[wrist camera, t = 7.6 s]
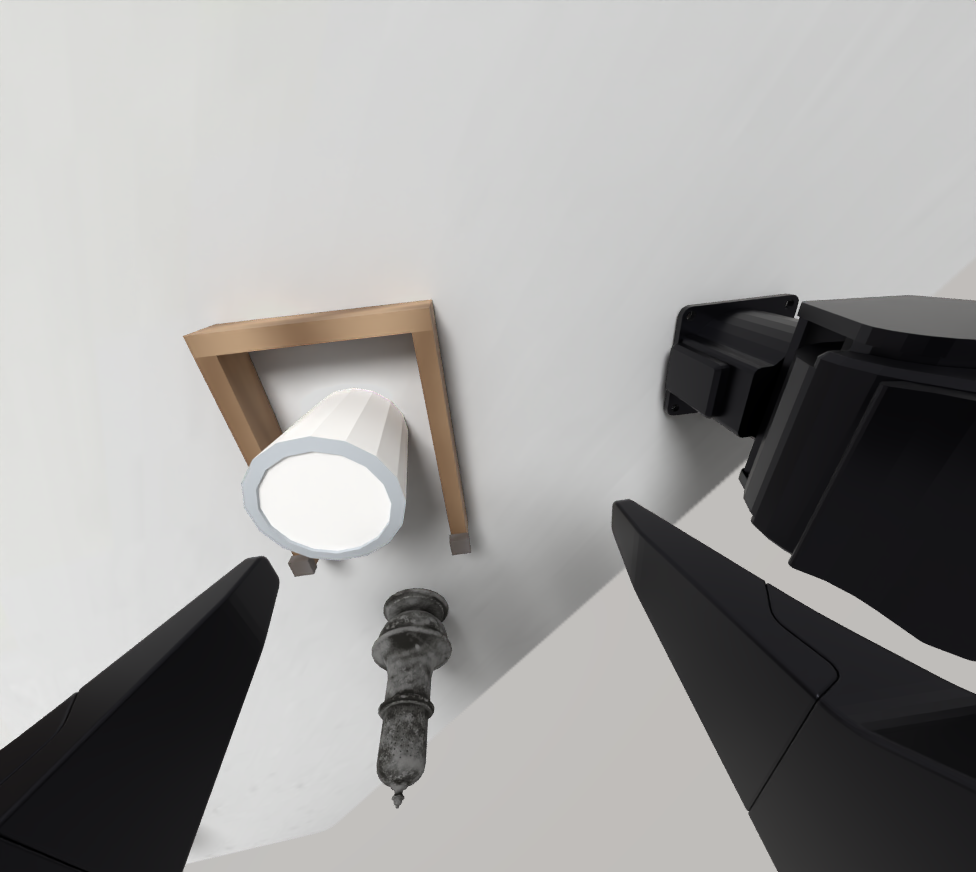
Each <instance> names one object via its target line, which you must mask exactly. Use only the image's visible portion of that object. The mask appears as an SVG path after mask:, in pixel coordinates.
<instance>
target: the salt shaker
mask: <svg viewBox="0 0 976 872" xmlns="http://www.w3.org/2000/svg"><path fill="white" fill-rule="evenodd" d="M447 614H448V605H447V602H446V601H445V599H444V598H443V597H442V596H441V595H439V594H438V593H436V592H433V591H431V590H427V589H417V588H413V589H406V590H403V591H400V592H397V593H396V594H394V595H392V596H391V597H390V598H389V599H388V600H387V601H386V603H385V605H384V616H385V618H386V619H387V621H388V622H387V623H386V625H385V627H384V628H383V630H382V631H381V633H380V635H379V638H378V639H377V640H376V641H375V643H374V645H373V647H372V657H373V659H374V661H375V662H376V663H377V664H378V665H379V666H380V667H381V668H383V669H384V670H386V671H387V673H388V681H387V688H386V695H385V701H384V702H383V703H382V704H381V705H380V707H379V709H378V714H379V716H380V717H381V718H382V719H383V724H382V731H381V738H380V745H379V752H378V759H377V774H378V777H379V779H380V780H381V781H382V782H383V783H384V784H385V785H387V786H389V787H391V789H392V790H394V791H395V794H394V796H393V797H392V800H393V801H394V805H396V808H399V805H401V803H402V800H403V799H404V796H403V794H402V792H403V790H405V789H406V788H407V787H408V786H410V785H412V784H414V783H415V782H416V781H417V780H419V778H420V777H421V775H422V774H423V772H424V768H425V764H426V747H427V727H428V719H429V718H430V717H431V716H432V715H433V713H434V706H433V704H432V703H431V701H430V690H431V677H432V673H433V671H434V670H436V669H438V668H440V667H441V666H442V665H444V664H445V663H446V662H447V661H448V659H449V657H450V656H451V651H452V648H451V644H450V642H449V640H448V638H447V634H446V631H445V629H444V626H443V624H442V623H441V622H442V621H443V620H444V619H445V618H446V616H447Z"/></svg>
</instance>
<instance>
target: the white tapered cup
mask: <svg viewBox="0 0 976 872" xmlns="http://www.w3.org/2000/svg"><path fill="white" fill-rule="evenodd" d="M407 455H408V428H407V425H406V422H405V419H404V416H403V414H402V413H401V412H400V411H399V409H398V408H397V407H396V406H395V405H394V404H393V402H392V401H391V400H389V399H387V398H385V397H383V396H382V395H380V394H378V393H376V392H374V391H370V390H364V389H358V388H350V389H345V390H340V391H335V392H334V393H332V394H331V395H329V396H328V397H326V398H325V399H324V400H322V401H321V402H319V403H318V404H317V405H316V406H315V407H314V408H312V409H311V410H310V411H309V412H308V413H307V414H305V415H304V416H303V417H302V418H301V419H299V420H298V421H297V422H296V423H295V424H294V425H292V426H291V427H290V428H289V429H288V430H287V431H285V432H284V433H283V434H282V435H281V436H280V437H278V438H277V439H276V440H275V441H274V442H272V443H271V444H270V445H269V446H268V447H267V448H265V449H264V450H263V451H262V452H261V453H260V454H258V455H257V456H256V457H255V458H254V459H253V460H252V462H251V464H250V466H249V468H248V470H247V472H246V474H245V476H244V478H243V480H242V483H241V484H242V493H243V501H244V508H245V510H246V511H247V513H248V514H249V516H250V517H251V519H252V520H253V522H254V523H255V525H256V526H257V528H258V530H259V531H260V532H262V533H263V534H265V535H266V536H267V537H269V538H270V539H271V540H273V541H274V542H275V543H277V544H278V545H280V546H281V547H282V548H285V549H287V550H290V551H293V552H296V553H298V554H301V555H304V556H307V557H309V558H316V559H328V560H345V559H351V558H356V557H361V556H366V555H369V554H370V553H372V552H374V551H376V550H377V549H379V548H381V547H383V546H384V545H386V544H388V543H389V542H390V541H391V540H392V538H393V537H394V536H395V534H396V533H397V531H398V530H399V529H400V527H401V526H402V525H403V519H404V513H405V506H406V487H407Z"/></svg>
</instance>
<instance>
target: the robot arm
mask: <svg viewBox="0 0 976 872" xmlns="http://www.w3.org/2000/svg"><path fill="white" fill-rule="evenodd" d="M787 301H788V304H787V306H785V304H786V302H787ZM798 302H799V299H798V297H797V296H796V295H792V294H780V295H772V296H763V297H755V298H746V299H738V300H729V301H721V302H712V303H704V304H695V305H688V306H685V307H684V308H682V309H681V311H680V312H679V315H678V320H677V327H676V333H675V340H674V345H673V347H672V348H671V353H670V360H669V366H668V373H667V379H666V386H665V387H666V389H667V391H666V398H665V404H664V410H665V411H666V412H667V413H668V414H670V415H681V414H689V413H697V412H699V413H701V414H702V415H703V416H705V417H706V418H713V419H714V420H715V421H717V422H718V423H720V424H721V425H723V426H724V427H726V428H727V429H728V430H730V431H731V432H733V433H734V434H736V435H737V436H739V437H742V438H743V437H751V438H752V439H754V440H755V441H754V444H753V447H752V449H751V452H750V455H749V458H748V460H747V463H746V466H745V468H743V469H742V470H741V473H740V476H739V480H740V482H741V484H742V486H743V488H744V489H745V490H744V500H745V502H746V504H747V506H748V508H749V510H750V512H751V513H752V515H753V516H752V519H751V522H752V524H753V525H754V526H755V527H756V528H757V529H759V531H761V532H762V533H763V534H764V535H765V536H766V537H767V538H768V539H769V540H771V541H772V542H773V543H775V544H776V545H778V546H779V547H780V548H782V549H783V550H785V551H787V552H788V553H790V554H791V555H792V556H791V558H790V559H789V562H788V564H789V565H790V566H791V567H792V568H794V569H797V570H799V571H802V572H804V573H807V574H810V575H812V576H815V577H817V578H820V579H822V580H825V581H827V582H829V583H831V584H832V585H834V586H836V587H838V588H840V589H842V590H844V591H846V592H848V593H850V594H852V595H853V596H855V597H857V598H858V599H860V600H861V601H863V602H864V603H866V604H868V605H869V606H871V607H872V608H874V609H875V610H877V611H878V612H880V613H881V614H882V615H884V616H885V617H887V618H888V619H890V620H891V621H893V622H894V623H895V624H897V625H898V626H900V627H901V628H903V629H904V630H906V631H907V632H908V633H910V634H911V635H913V636H914V637H915V638H917V639H918V640H920V641H922V642H923V643H925V644H928V645H931V646H933V647H935V648H938V649H941V650H943V651H946V652H949V653H951V654H954V655H957V656H959V657H962V658H965V659H968V660H971V661H976V301H974V300H962V299H950V298H937V297H926V296H913V295H903V296H886V297H868V298H851V299H834V300H817V301H803V302H802V303H801V306H800V309H799V312H798V314H797V316H799V317H800V318H799V319H795V318H794V316H795V312H796V309H797V306H798ZM689 312H692V315H691V317H690V318H689V319H687V314H688V313H689ZM675 404H676V406H675V407H674V408H673V409H671V408H672V406H673V405H675ZM612 532H613V535H614V538H615V540H616V543H617V545H618V548H619V551H620V553H621V556H622V559H623V561H624V564H625V567H626V569H627V572H628V575H629V577H630V580H631V582H632V585H633V587H634V590H635V592H636V594H637V596H638V598H639V600H640V602H641V604H642V606H643V608H644V609H645V612H646V614H647V615H648V618H649V619H650V622H651V623H652V625H653V627H654V629H655V631H656V633H657V635H658V637H659V639H660V641H661V643H662V645H663V647H664V649H665V651H666V653H667V655H668V657H669V659H670V661H671V662H672V665H673V667H674V669H675V671H676V672H677V674H678V676H679V678H680V680H681V682H682V684H683V686H684V688H685V690H686V692H687V694H688V696H689V698H690V700H691V702H692V704H693V706H694V708H695V710H696V712H697V714H698V715H699V718H700V720H701V722H702V723H703V725H704V727H705V729H706V731H707V733H708V735H709V737H710V739H711V741H712V743H713V745H714V747H715V749H716V751H717V753H718V755H719V757H720V759H721V761H722V763H723V765H724V766H725V769H726V770H727V773H728V774H729V776H730V778H731V780H732V782H733V784H734V786H735V788H736V790H737V792H738V794H739V796H740V798H741V800H742V802H743V803H744V806H745V808H746V809H747V810H748V811H749V816H750V818H751V820H752V822H753V824H754V826H755V828H756V830H757V832H758V834H759V836H760V838H761V840H762V841H763V844H764V845H765V847H766V850H767V852H768V853H769V855H770V857H771V859H772V861H773V863H774V865H775V867H776V869H777V871H778V872H976V694H974V693H972V692H970V691H967V690H965V689H963V688H961V687H959V686H957V685H955V684H952V683H950V682H948V681H946V680H944V679H942V678H940V677H938V676H937V675H934V674H933V673H931V672H929V671H927V670H925V669H923V668H921V667H920V666H918V665H916V664H914V663H912V662H910V661H908V660H906V659H904V658H902V657H901V656H899V655H897V654H895V653H893V652H891V651H889V650H887V649H885V648H883V647H881V646H880V645H877V644H876V643H874V642H872V641H870V640H868V639H866V638H864V637H862V636H860V635H859V634H857V633H855V632H853V631H851V630H849V629H847V628H846V627H843V626H842V625H840V624H838V623H836V622H835V621H833V620H831V619H829V618H827V617H825V616H824V615H822V614H820V613H818V612H816V611H814V610H813V609H811V608H809V607H808V606H806V605H804V604H802V603H801V602H799V601H797V600H795V599H794V598H792V597H791V596H789V595H787V594H785V593H784V592H782V591H780V590H779V589H777V588H776V587H774V586H772V585H771V584H769V583H767V584H766V583H765V581H764V580H762V579H761V578H759V577H757V576H756V575H754V574H752V573H751V572H749V571H747V570H746V569H744V568H742V567H741V566H739V565H738V564H736V563H734V562H733V561H731V560H729V559H728V558H726V557H724V556H723V555H721V554H719V553H718V552H716V551H714V550H713V549H711V548H710V547H708V546H706V545H705V544H703V543H701V542H700V541H698V540H696V539H695V538H693V537H691V536H690V535H688V534H687V533H685V532H683V531H682V530H680V529H678V528H677V527H675V526H673V525H672V524H670V523H668V522H667V521H665V520H664V519H662V518H660V517H659V516H657V515H655V514H654V513H652V512H650V511H649V510H647V509H645V508H644V507H642V506H640V505H639V504H637V503H636V502H634V501H632V500H630V499H625V500H619V501H615V502H614V503H613V506H612ZM278 589H279V577H278V575H277V574H276V572H275V570H274V569H273V567H272V565H271V564H270V562H269V560H268V559H267V558H266V557H264V556H258V557H251V558H247V559H245V560H244V561H243V562H241V563H240V564H239V565H237V566H236V567H235V568H234V569H232V570H231V571H230V572H228V573H227V574H226V575H225V576H223V577H222V578H221V579H220V580H218V581H217V582H216V583H214V584H213V585H212V586H211V587H209V588H208V589H207V590H206V591H204V592H203V593H202V594H200V595H199V596H198V597H197V598H195V599H194V600H193V601H192V602H190V603H189V604H188V605H186V606H185V607H184V608H183V609H181V610H180V611H179V612H177V613H176V614H175V615H174V616H172V617H171V618H170V619H169V620H167V621H166V622H165V623H163V624H162V625H161V626H160V627H158V628H157V629H156V630H155V631H153V632H152V633H151V634H149V635H148V636H147V637H146V638H144V639H143V640H142V641H141V642H139V643H138V644H137V645H135V646H134V647H133V648H132V649H130V650H129V651H128V652H126V653H125V654H124V655H123V656H121V657H120V658H119V659H118V660H116V661H115V662H114V663H112V664H111V665H110V666H109V667H107V668H106V669H105V670H104V671H102V672H101V673H100V674H98V675H97V676H96V677H95V678H93V679H92V680H91V681H90V682H88V683H87V684H86V685H84V686H83V687H82V688H81V689H80V690H79V692H77V693H74V694H73V695H71V696H70V697H69V698H68V699H66V700H65V701H64V702H63V703H61V704H60V705H59V706H58V707H56V708H55V709H54V710H52V711H51V712H50V713H49V714H47V715H46V716H45V717H43V718H42V719H41V720H39V721H38V722H37V723H36V724H34V725H33V726H32V727H30V728H29V729H28V730H26V731H25V732H24V733H23V734H21V735H20V736H19V737H17V738H16V739H15V740H13V741H12V742H11V743H9V744H8V745H7V746H5V747H4V748H3V749H1V750H0V872H183V869H184V867H185V864H186V861H187V858H188V855H189V853H190V850H191V847H192V844H193V842H194V839H195V836H196V833H197V830H198V828H199V825H200V822H201V819H202V817H203V814H204V811H205V808H206V806H207V803H208V800H209V797H210V794H211V792H212V789H213V786H214V783H215V781H216V778H217V775H218V772H219V770H220V767H221V764H222V761H223V758H224V756H225V753H226V750H227V747H228V745H229V742H230V739H231V736H232V733H233V731H234V728H235V725H236V722H237V720H238V717H239V714H240V711H241V709H242V706H243V703H244V700H245V697H246V695H247V692H248V689H249V686H250V684H251V681H252V678H253V675H254V673H255V670H256V667H257V664H258V661H259V659H260V656H261V653H262V650H263V647H264V643H265V640H266V636H267V632H268V628H269V625H270V621H271V617H272V613H273V609H274V605H275V601H276V597H277V593H278Z"/></svg>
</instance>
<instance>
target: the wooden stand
mask: <svg viewBox="0 0 976 872" xmlns="http://www.w3.org/2000/svg"><path fill="white" fill-rule="evenodd" d="M404 333H412V338H413V343H414V348H415V353H416V358H417V363H418V368H419V373H420V378H421V383H422V389H423V394H424V399H425V404H426V409H427V414H428V419H429V424H430V429H431V434H432V439H433V445H434V450H435V455H436V460H437V465H438V470H439V475H440V480H441V485H442V490H443V496H444V501H445V506H446V511H447V516H448V521H449V526H450V531H451V535H450V546H451V551H452V555H458V554H466V553H471V546H470V540H469V534H468V520H467V514H466V507H465V501H464V495H463V489H462V483H461V477H460V470H459V464H458V458H457V452H456V446H455V440H454V433H453V427H452V421H451V415H450V409H449V402H448V396H447V390H446V384H445V378H444V372H443V365H442V359H441V353H440V347H439V341H438V335H437V328H436V322H435V316H434V310H433V304H432V300H424V301H416V302H407V303H398V304H389V305H381V306H372V307H363V308H354V309H346V310H337V311H328V312H320V313H311V314H302V315H293V316H285V317H276V318H267V319H258V320H250V321H241V322H232V323H223V324H215V325H212V326H209V327H207V328H204V329H201V330H199V331H196V332H193V333H190V334H188V335H185V336H183V337H184V339H185V341H186V343H187V345H188V347H189V349H190V351H191V353H192V355H193V357H194V359H195V361H196V363H197V365H198V367H199V369H200V371H201V373H202V375H203V377H204V379H205V381H206V383H207V385H208V387H209V389H210V391H211V393H212V395H213V397H214V399H215V401H216V403H217V405H218V407H219V409H220V411H221V413H222V415H223V417H224V419H225V421H226V423H227V425H228V427H229V429H230V431H231V433H232V435H233V437H234V439H235V441H236V443H237V445H238V447H239V449H240V451H241V453H242V455H243V457H244V459H245V461H246V463H247V465H248V466H250V464H251V462H252V460H253V459H254V458H255V457H256V456H257V455H258V454H260V453H261V452H262V451H263V450H264V449H265V448H267V447H268V446H269V445H270V444H271V443H272V442H274V441H275V440H276V439H277V438H278V437H280V436H281V435H282V431H281V429H280V427H279V424H278V422H277V419H276V417H275V415H274V412H273V410H272V408H271V405H270V403H269V401H268V398H267V396H266V394H265V391H264V389H263V387H262V384H261V382H260V380H259V377H258V375H257V372H256V370H255V368H254V365H253V363H252V361H251V358H250V356H249V354H248V352H250V351H259V350H267V349H276V348H284V347H293V346H302V345H310V344H319V343H327V342H336V341H344V340H353V339H361V338H370V337H379V336H387V335H396V334H404ZM291 552H292V554H293V556H291V558H290V560H289V562H288V564H289V566H290V568H291V570H292V572H293V574H294V576H295V577H296V576H303V575H311V574H314V573H315V570H316V568H317V565H316V564H317V562H318V560H319V559H316V558H309V557H307V556H304V555H301V554H298V553H296V552H293V551H291Z"/></svg>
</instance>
